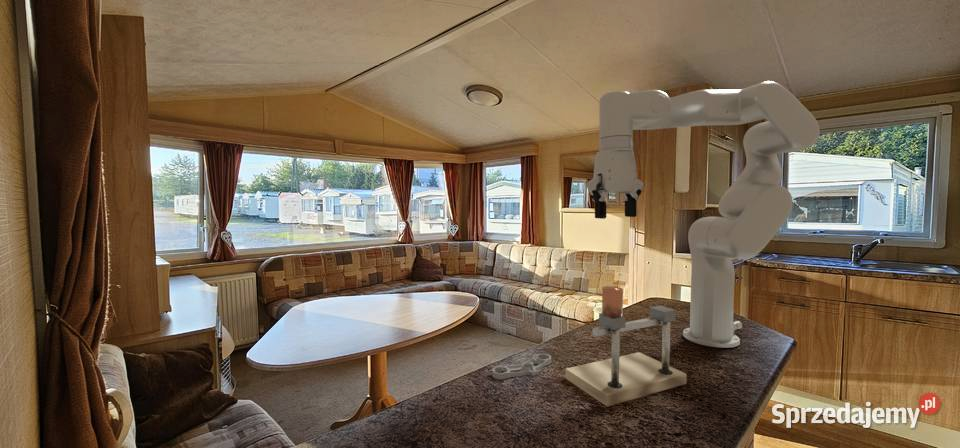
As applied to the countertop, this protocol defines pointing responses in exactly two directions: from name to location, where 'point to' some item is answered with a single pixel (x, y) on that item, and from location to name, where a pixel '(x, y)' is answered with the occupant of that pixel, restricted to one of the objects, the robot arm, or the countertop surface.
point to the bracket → (522, 367)
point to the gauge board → (624, 378)
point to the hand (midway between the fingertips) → (615, 217)
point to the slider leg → (613, 324)
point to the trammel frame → (657, 317)
